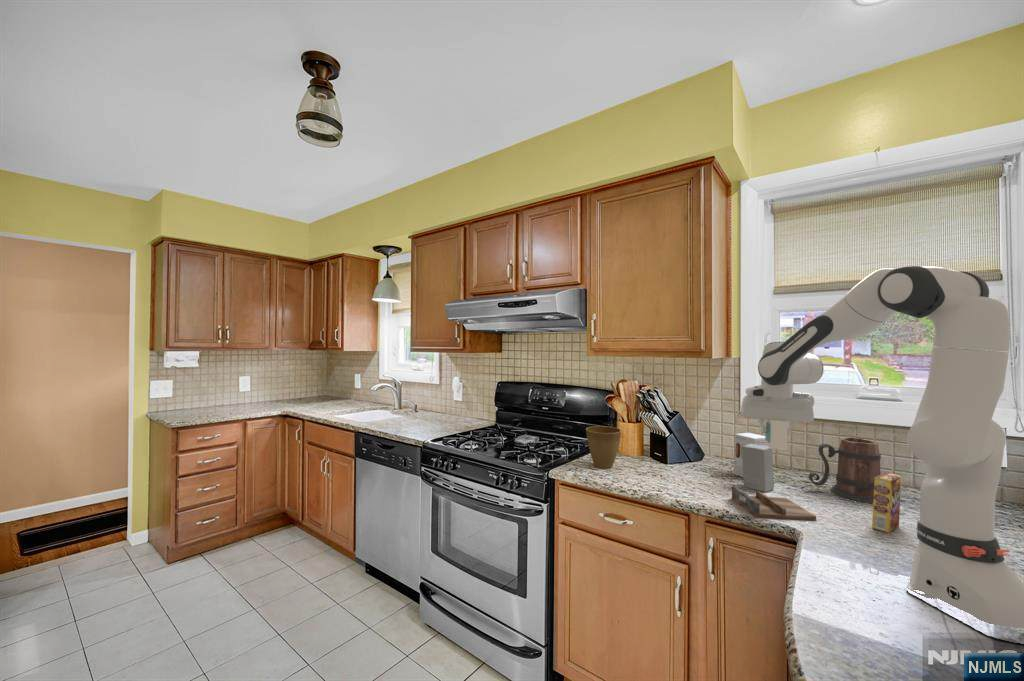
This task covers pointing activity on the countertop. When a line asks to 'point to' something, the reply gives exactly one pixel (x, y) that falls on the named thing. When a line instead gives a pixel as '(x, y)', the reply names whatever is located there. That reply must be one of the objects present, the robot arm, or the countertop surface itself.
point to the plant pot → (603, 445)
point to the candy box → (886, 502)
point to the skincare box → (758, 467)
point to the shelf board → (770, 506)
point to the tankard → (853, 469)
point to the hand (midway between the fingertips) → (775, 433)
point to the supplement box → (740, 441)
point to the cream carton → (777, 434)
